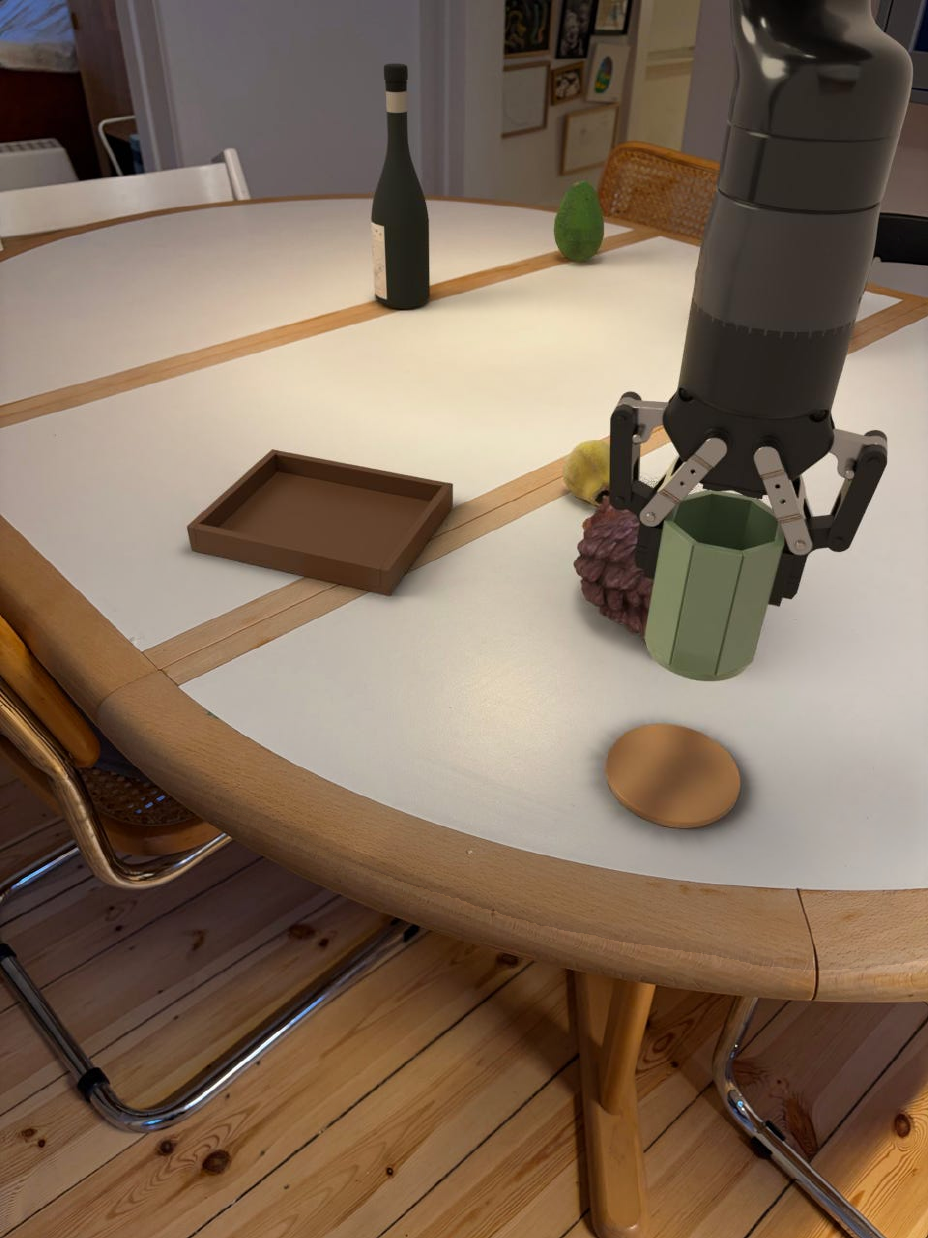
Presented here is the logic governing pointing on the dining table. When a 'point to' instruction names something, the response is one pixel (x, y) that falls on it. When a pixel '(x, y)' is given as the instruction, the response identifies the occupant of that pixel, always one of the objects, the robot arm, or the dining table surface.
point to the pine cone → (614, 567)
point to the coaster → (672, 775)
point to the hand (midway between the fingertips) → (712, 584)
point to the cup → (712, 584)
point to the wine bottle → (399, 210)
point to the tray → (324, 520)
